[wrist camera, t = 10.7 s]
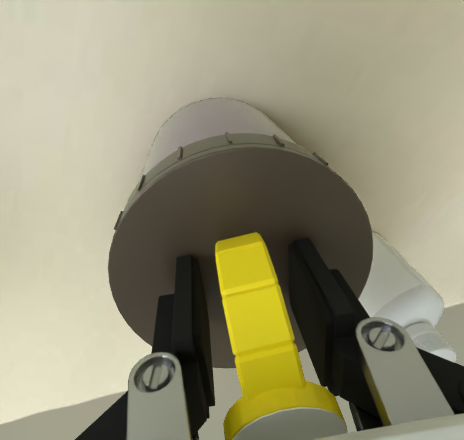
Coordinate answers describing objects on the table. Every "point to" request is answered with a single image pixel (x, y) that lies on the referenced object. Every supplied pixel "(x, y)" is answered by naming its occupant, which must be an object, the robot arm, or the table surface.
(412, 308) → the eye dropper bottle
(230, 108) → the jar
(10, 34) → the table surface
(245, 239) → the watch
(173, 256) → the jar lid
